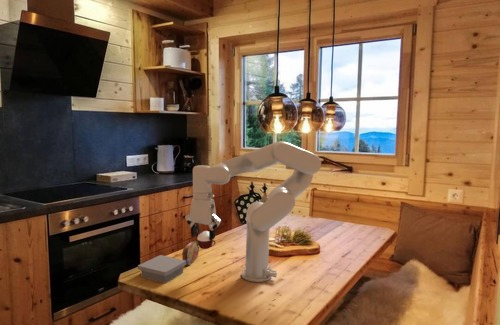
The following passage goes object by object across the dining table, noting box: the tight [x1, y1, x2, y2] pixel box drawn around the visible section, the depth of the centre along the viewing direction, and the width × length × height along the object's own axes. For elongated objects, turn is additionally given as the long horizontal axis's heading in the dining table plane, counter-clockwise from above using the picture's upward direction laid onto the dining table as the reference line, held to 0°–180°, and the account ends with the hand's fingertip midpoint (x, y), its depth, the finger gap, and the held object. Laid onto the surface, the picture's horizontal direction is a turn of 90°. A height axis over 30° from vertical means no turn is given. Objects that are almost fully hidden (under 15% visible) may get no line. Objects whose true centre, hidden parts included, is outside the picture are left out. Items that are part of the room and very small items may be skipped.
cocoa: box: [195, 223, 216, 250], centre depth 149 cm, size 10×6×12 cm, turn 46°
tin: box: [181, 240, 200, 266], centre depth 167 cm, size 15×3×8 cm, turn 168°
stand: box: [137, 254, 187, 284], centre depth 151 cm, size 14×14×5 cm
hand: (202, 237), depth 149 cm, fingers closed on cocoa, 8 cm apart
